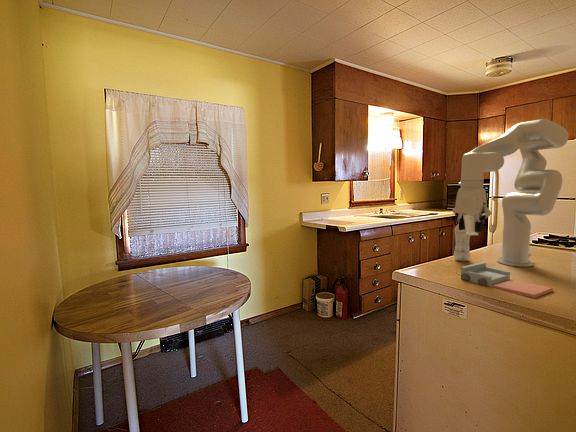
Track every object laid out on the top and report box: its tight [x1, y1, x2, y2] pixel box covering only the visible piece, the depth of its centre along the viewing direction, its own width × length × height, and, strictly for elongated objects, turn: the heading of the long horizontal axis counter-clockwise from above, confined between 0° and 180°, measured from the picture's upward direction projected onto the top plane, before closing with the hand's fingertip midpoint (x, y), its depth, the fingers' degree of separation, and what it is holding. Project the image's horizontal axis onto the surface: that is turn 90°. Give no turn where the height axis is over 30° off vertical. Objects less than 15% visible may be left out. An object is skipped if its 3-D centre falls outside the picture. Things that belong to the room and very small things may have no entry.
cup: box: [463, 214, 480, 236], centre depth 117 cm, size 7×10×8 cm
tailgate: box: [492, 279, 554, 299], centre depth 100 cm, size 12×12×1 cm
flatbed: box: [460, 261, 511, 288], centre depth 110 cm, size 15×11×5 cm
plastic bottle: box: [453, 219, 471, 263], centre depth 136 cm, size 6×7×20 cm
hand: (470, 230), depth 118 cm, fingers closed on cup, 5 cm apart
